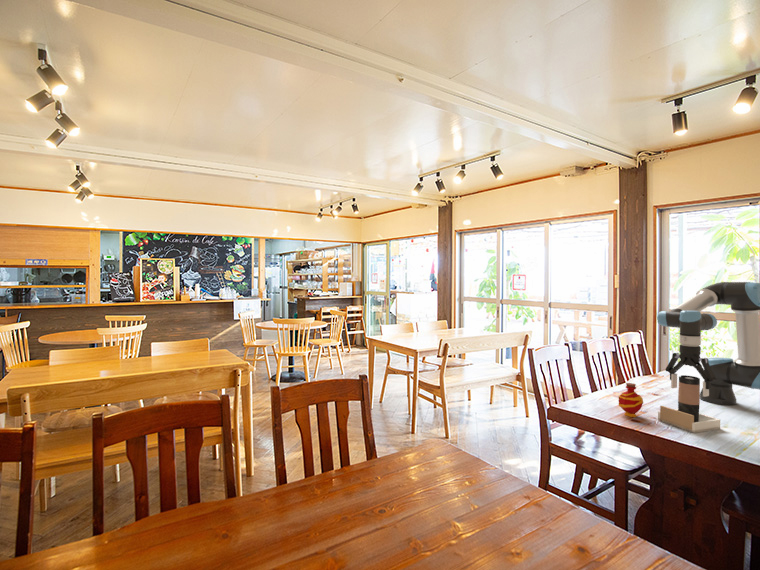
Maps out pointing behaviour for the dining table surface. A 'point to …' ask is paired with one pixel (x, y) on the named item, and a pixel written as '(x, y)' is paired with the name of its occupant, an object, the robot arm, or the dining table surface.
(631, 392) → the potion bottle
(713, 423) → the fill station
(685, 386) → the travel mug
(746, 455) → the dining table surface
